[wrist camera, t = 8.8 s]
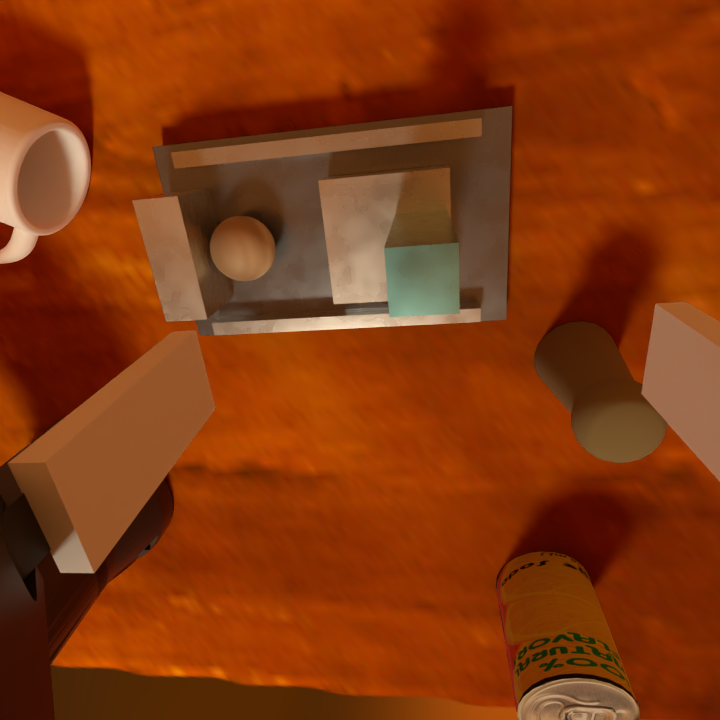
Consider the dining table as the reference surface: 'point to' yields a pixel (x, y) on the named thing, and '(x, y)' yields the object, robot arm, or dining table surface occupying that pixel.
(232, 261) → the walnut ball
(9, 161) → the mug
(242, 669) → the dining table surface
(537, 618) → the beverage can
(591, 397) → the olive brown waisted cylinder
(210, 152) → the tray
